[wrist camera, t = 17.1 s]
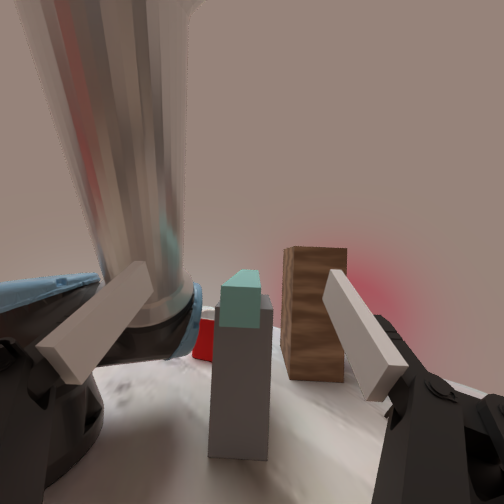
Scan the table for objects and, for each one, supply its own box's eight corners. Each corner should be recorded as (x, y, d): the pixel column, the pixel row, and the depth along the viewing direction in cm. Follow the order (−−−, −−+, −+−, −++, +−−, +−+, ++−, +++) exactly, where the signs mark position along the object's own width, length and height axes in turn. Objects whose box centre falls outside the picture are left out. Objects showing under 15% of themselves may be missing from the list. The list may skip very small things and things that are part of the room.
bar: (259, 328, 18) (261, 287, 18) (219, 326, 18) (221, 285, 18) (257, 286, 44) (258, 270, 44) (240, 286, 44) (241, 269, 44)
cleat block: (267, 460, 25) (273, 309, 25) (207, 456, 25) (215, 306, 25) (264, 402, 35) (268, 294, 35) (221, 399, 35) (226, 292, 35)
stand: (343, 382, 41) (347, 248, 42) (289, 379, 41) (294, 246, 42) (318, 347, 57) (322, 250, 58) (280, 345, 57) (283, 249, 58)
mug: (217, 363, 46) (219, 320, 47) (188, 357, 48) (190, 316, 49) (234, 343, 58) (235, 308, 58) (210, 338, 60) (212, 305, 60)
